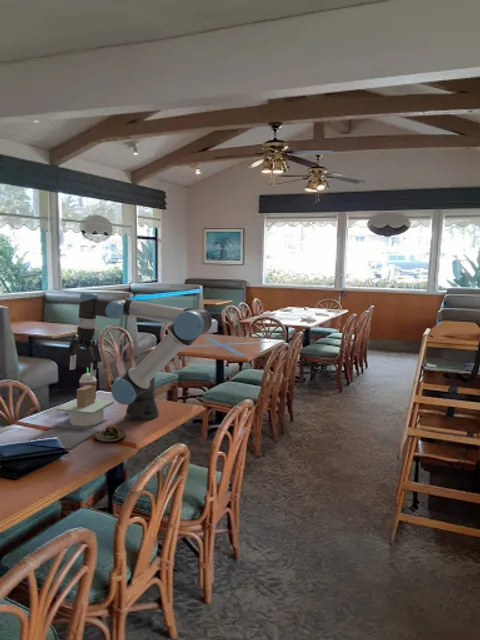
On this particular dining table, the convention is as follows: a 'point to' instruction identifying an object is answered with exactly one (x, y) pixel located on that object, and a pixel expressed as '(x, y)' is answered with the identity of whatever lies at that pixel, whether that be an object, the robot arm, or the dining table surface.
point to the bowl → (86, 418)
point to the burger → (110, 434)
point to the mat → (68, 435)
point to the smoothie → (88, 381)
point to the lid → (85, 402)
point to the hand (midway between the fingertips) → (82, 372)
